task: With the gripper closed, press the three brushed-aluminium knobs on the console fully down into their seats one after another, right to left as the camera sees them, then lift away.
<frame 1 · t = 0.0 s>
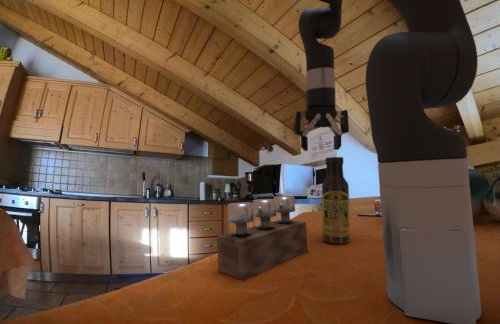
hand: (321, 150, 68), 22 cm above the table, tool pointing down, fingers open, 8 cm apart
knob middle: (265, 218, 49), point 8 cm above the table, slide at 0.0 cm
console: (267, 259, 49), on the table
sauce bottle: (337, 242, 59), on the table
knob right: (284, 213, 54), point 8 cm above the table, slide at 0.0 cm
knob left: (241, 223, 44), point 8 cm above the table, slide at 0.0 cm
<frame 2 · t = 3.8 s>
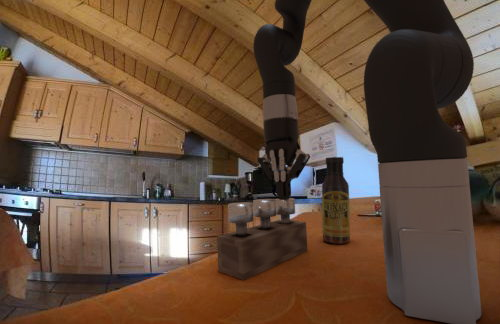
hand: (284, 199, 54), 11 cm above the table, tool pointing down, fingers closed
knob right: (285, 215, 54), point 8 cm above the table, slide at 0.5 cm, touching gripper
everything else where it was.
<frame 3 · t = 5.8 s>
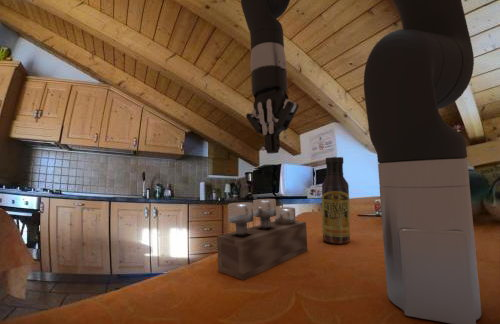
hand: (272, 152, 52), 21 cm above the table, tool pointing down, fingers closed
knob right: (285, 225, 54), point 5 cm above the table, slide at 2.5 cm, touching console
everything else where it was.
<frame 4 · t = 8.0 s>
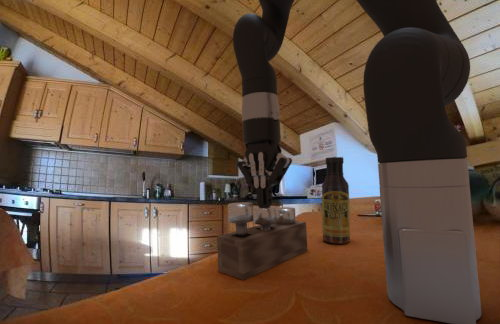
hand: (264, 207, 49), 10 cm above the table, tool pointing down, fingers closed
knob middle: (265, 225, 49), point 7 cm above the table, slide at 1.4 cm, touching gripper
everything else where it was.
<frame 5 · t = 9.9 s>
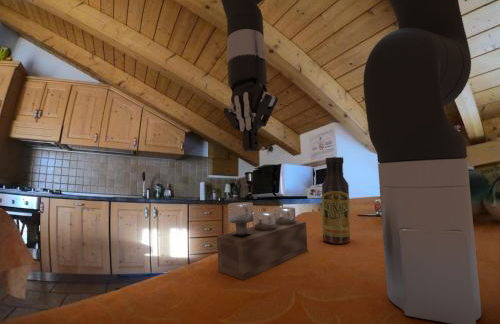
hand: (250, 151, 47), 21 cm above the table, tool pointing down, fingers closed
knob middle: (265, 231, 49), point 5 cm above the table, slide at 2.5 cm, touching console
everything else where it was.
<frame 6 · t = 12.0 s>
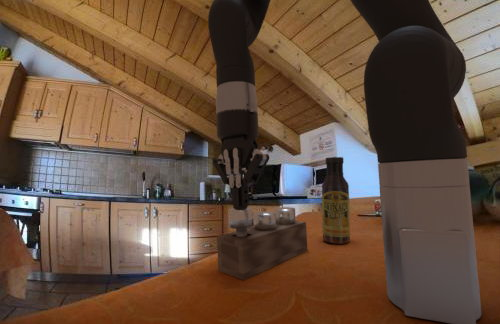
hand: (240, 208, 45), 11 cm above the table, tool pointing down, fingers closed
knob left: (241, 228, 44), point 7 cm above the table, slide at 0.9 cm, touching gripper
everything else where it was.
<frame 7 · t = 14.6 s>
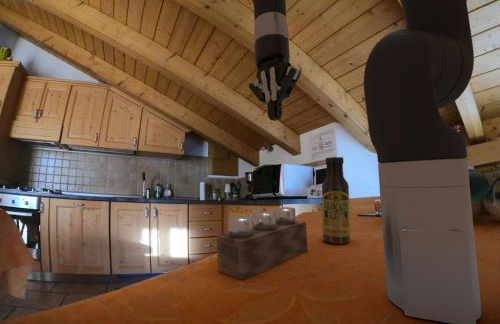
hand: (275, 119, 54), 28 cm above the table, tool pointing down, fingers closed
knob left: (241, 238, 44), point 5 cm above the table, slide at 2.5 cm, touching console
everything else where it was.
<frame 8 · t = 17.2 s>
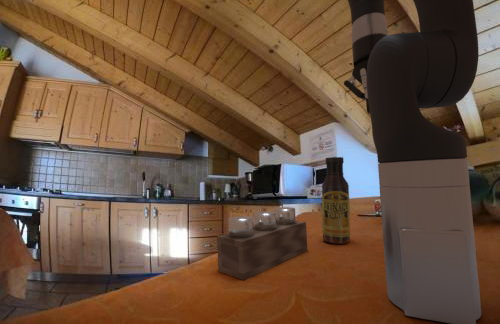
hand: (374, 114, 57), 29 cm above the table, tool pointing down, fingers closed
nothing on the table moved.
at the end: knob right slide at 2.5 cm; knob middle slide at 2.5 cm; knob left slide at 2.5 cm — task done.
